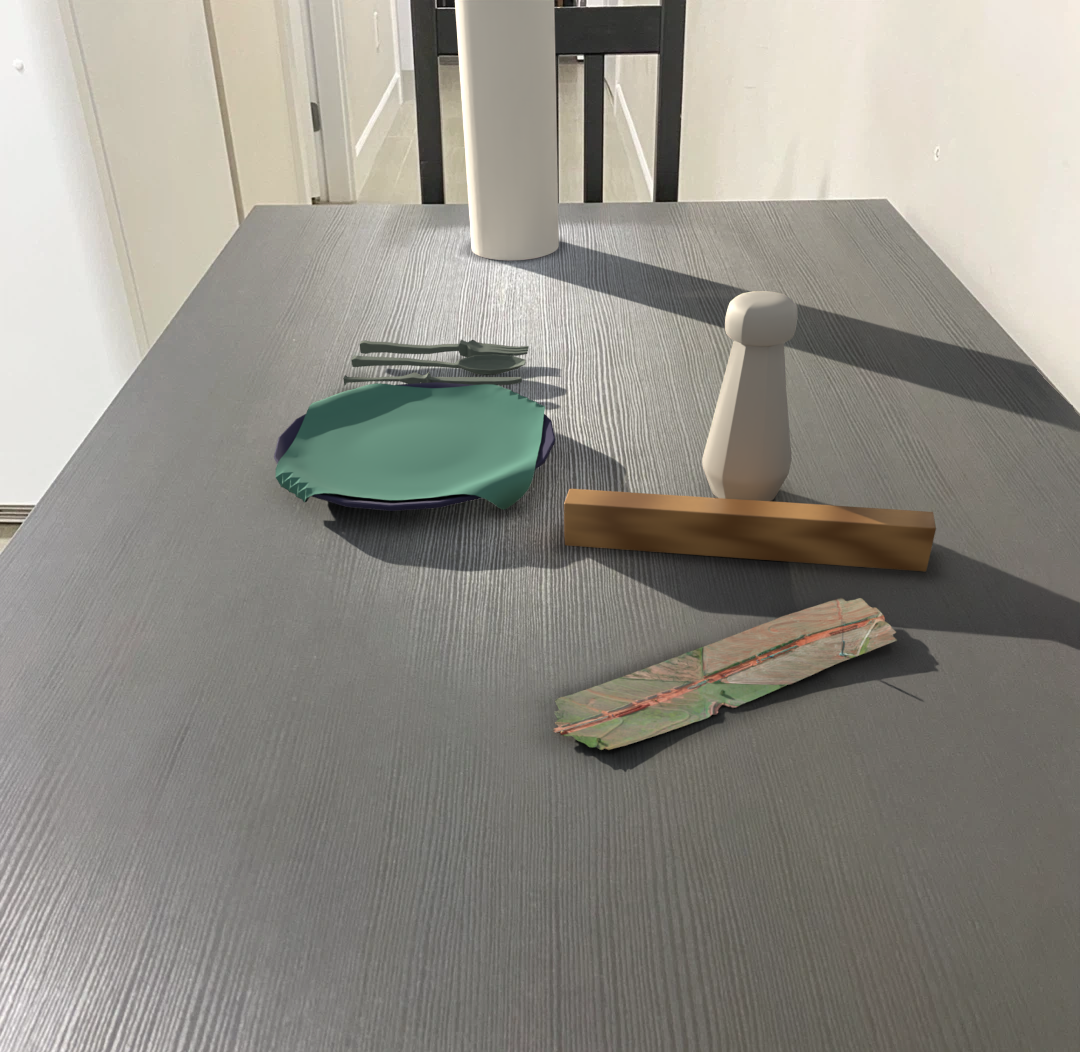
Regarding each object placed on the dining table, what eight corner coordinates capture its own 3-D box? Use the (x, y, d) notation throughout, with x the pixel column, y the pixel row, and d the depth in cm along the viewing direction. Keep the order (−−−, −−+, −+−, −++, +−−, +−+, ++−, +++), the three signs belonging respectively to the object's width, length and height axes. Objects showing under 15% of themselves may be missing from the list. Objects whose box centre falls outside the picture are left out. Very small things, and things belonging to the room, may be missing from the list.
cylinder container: (481, 264, 113) (458, -97, 94) (464, 238, 120) (440, -101, 101) (568, 254, 115) (563, -102, 95) (547, 230, 122) (538, -107, 102)
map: (533, 717, 56) (532, 703, 56) (848, 592, 63) (850, 578, 62) (581, 775, 53) (580, 760, 52) (909, 636, 59) (912, 622, 59)
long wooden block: (923, 554, 67) (933, 511, 65) (926, 572, 65) (936, 528, 63) (569, 530, 70) (569, 488, 68) (564, 545, 69) (563, 503, 67)
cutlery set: (244, 530, 71) (236, 499, 70) (342, 356, 94) (338, 329, 93) (546, 534, 70) (545, 502, 68) (571, 356, 93) (570, 329, 91)
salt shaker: (689, 478, 75) (702, 285, 67) (768, 468, 76) (790, 277, 68) (716, 518, 71) (733, 318, 63) (800, 508, 72) (827, 308, 63)
